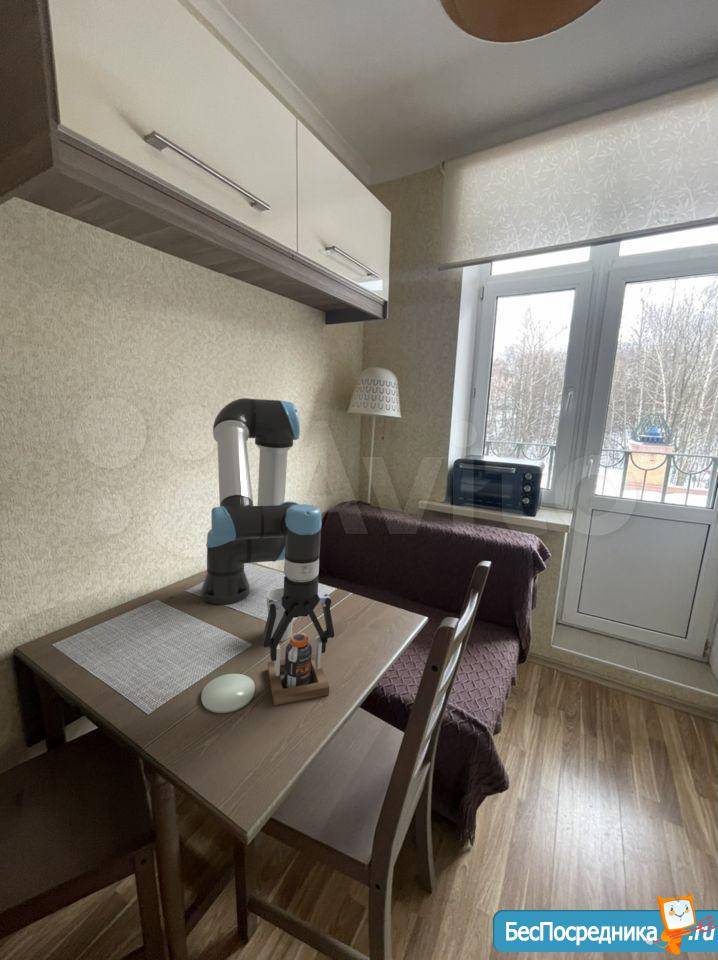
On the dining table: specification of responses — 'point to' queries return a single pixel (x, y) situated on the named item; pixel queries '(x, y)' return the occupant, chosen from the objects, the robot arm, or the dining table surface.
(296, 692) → the open wooden frame
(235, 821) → the dining table surface
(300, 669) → the pill bottle
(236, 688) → the pale green rounded part
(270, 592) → the cup
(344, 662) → the dining table surface
